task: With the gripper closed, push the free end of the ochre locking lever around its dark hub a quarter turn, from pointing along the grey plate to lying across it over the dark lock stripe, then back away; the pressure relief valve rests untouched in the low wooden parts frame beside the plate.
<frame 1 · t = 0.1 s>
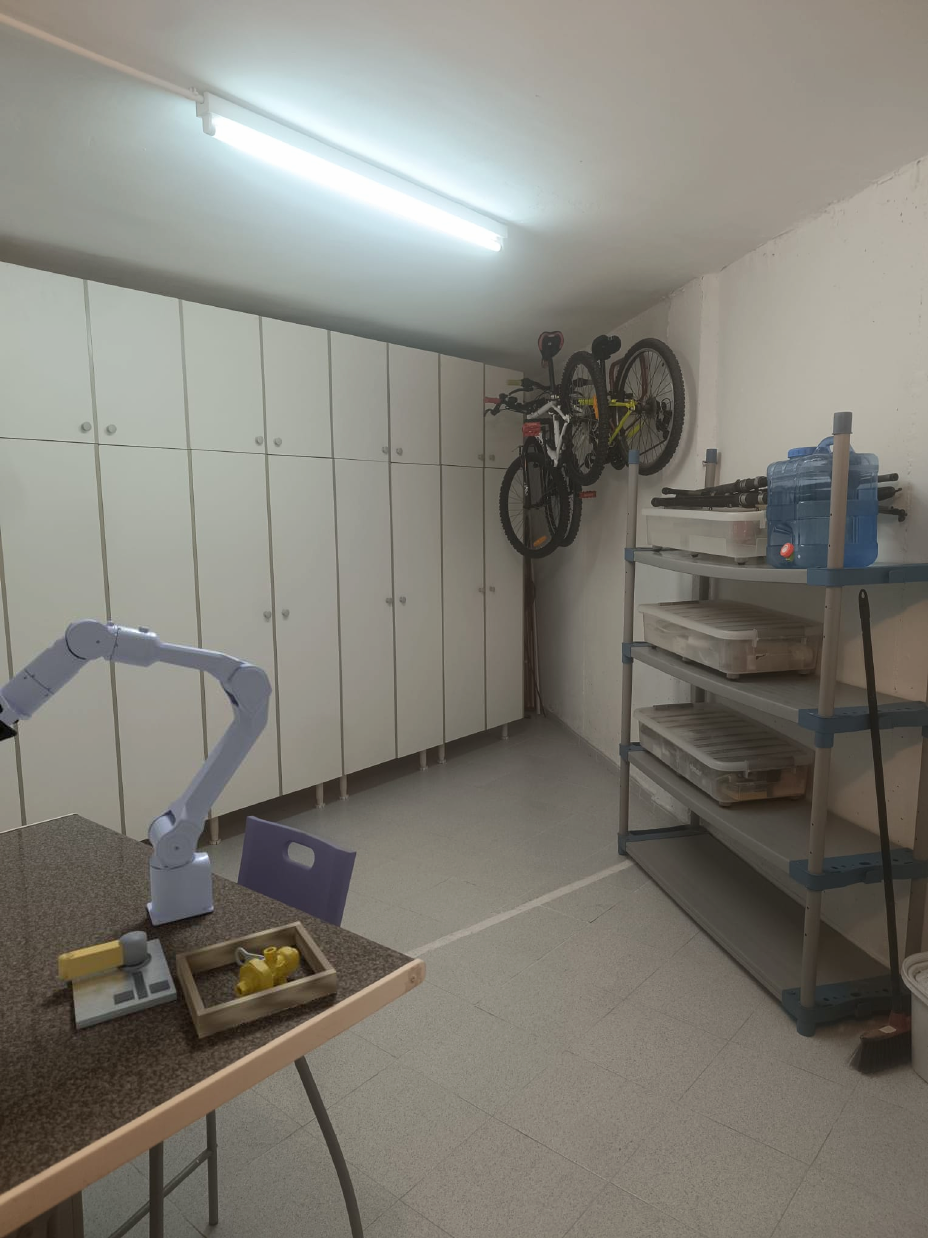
parts frame: (255, 983, 102), on the table
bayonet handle: (104, 955, 104), point 3 cm above the table, hinge at 0.0°
pressure relief valve: (252, 985, 103), on the table
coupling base: (121, 983, 103), on the table
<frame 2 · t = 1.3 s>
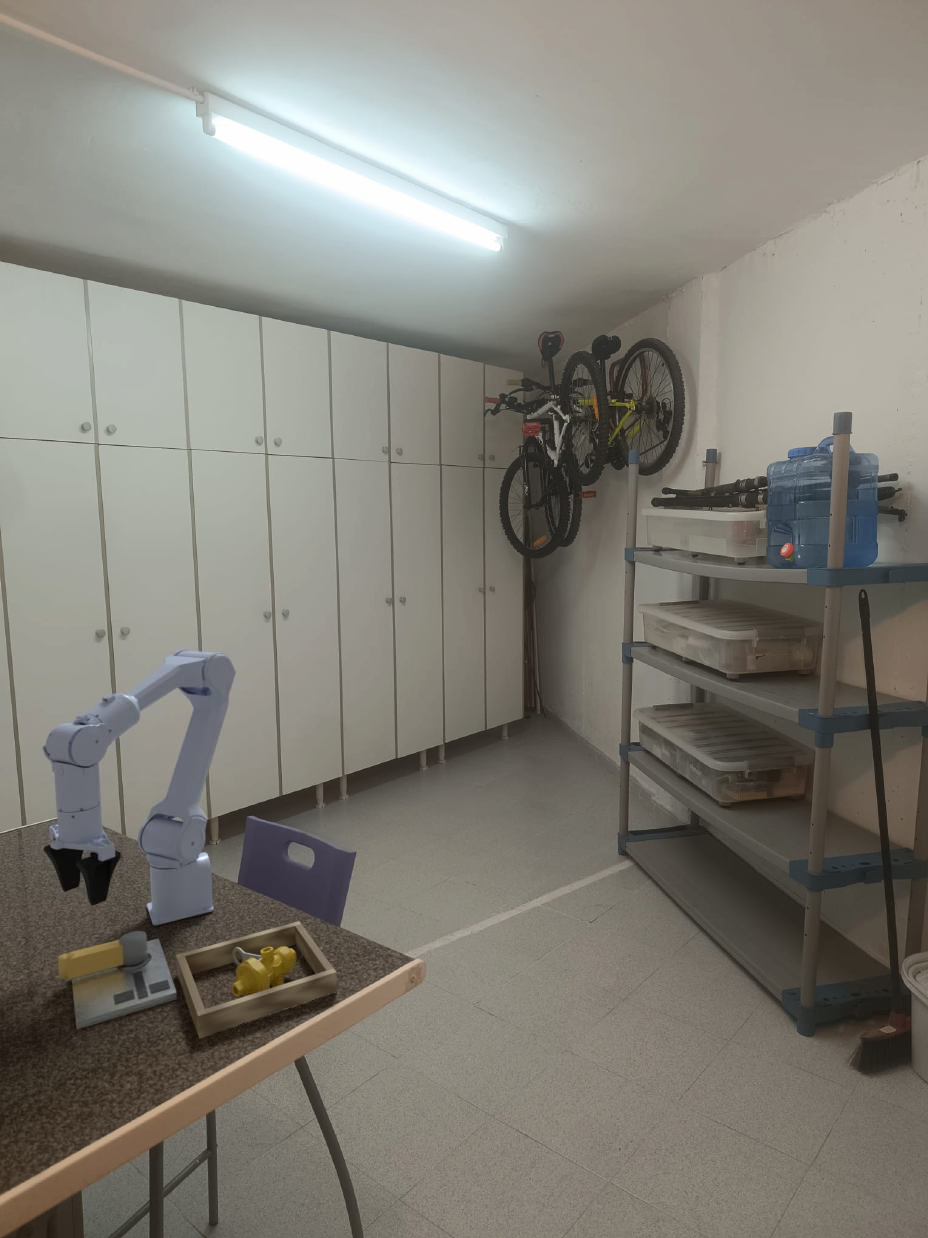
hand: (84, 895, 108), 10 cm above the table, tool pointing down, fingers open, 7 cm apart
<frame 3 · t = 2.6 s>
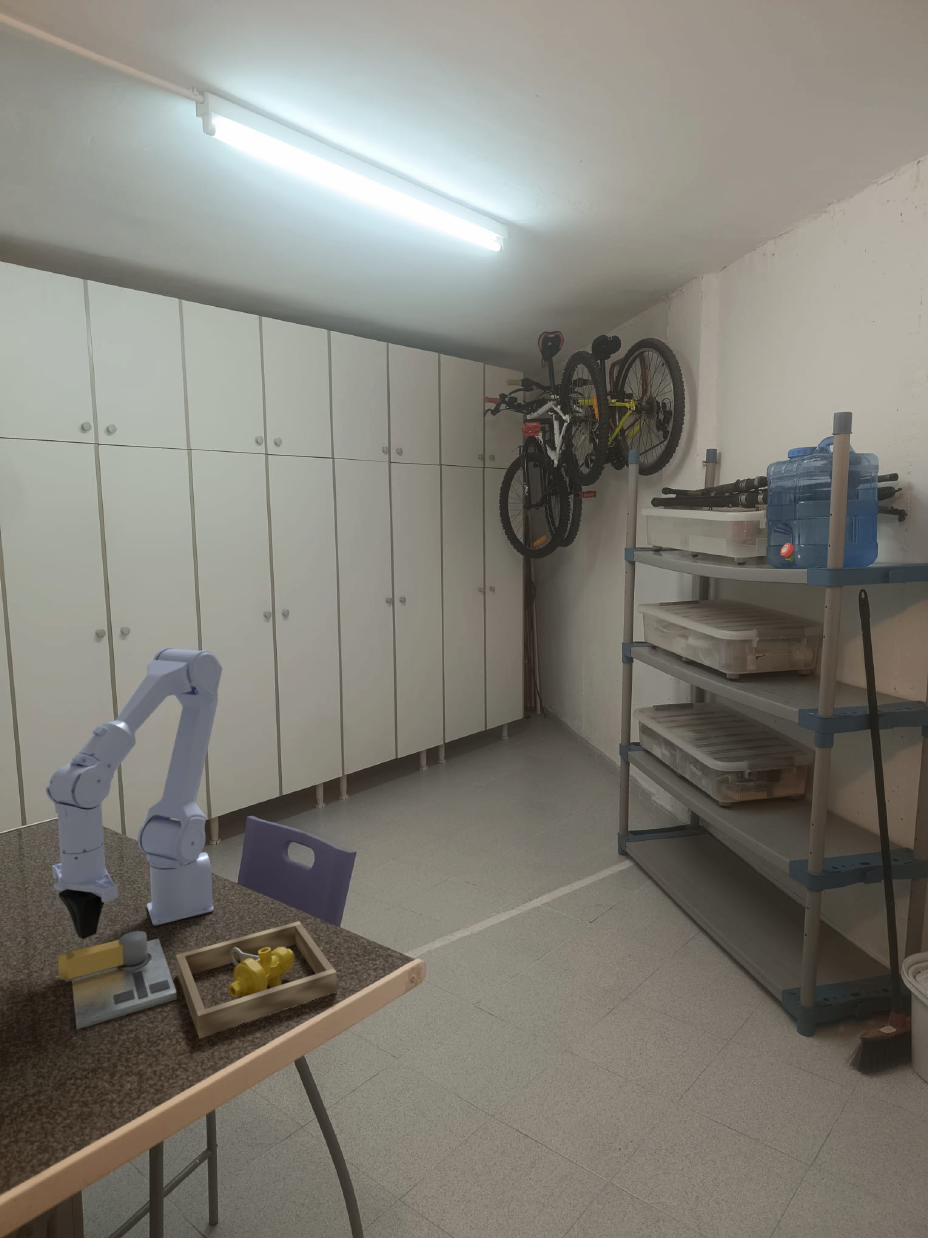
hand: (87, 935, 108), 4 cm above the table, tool pointing down, fingers closed
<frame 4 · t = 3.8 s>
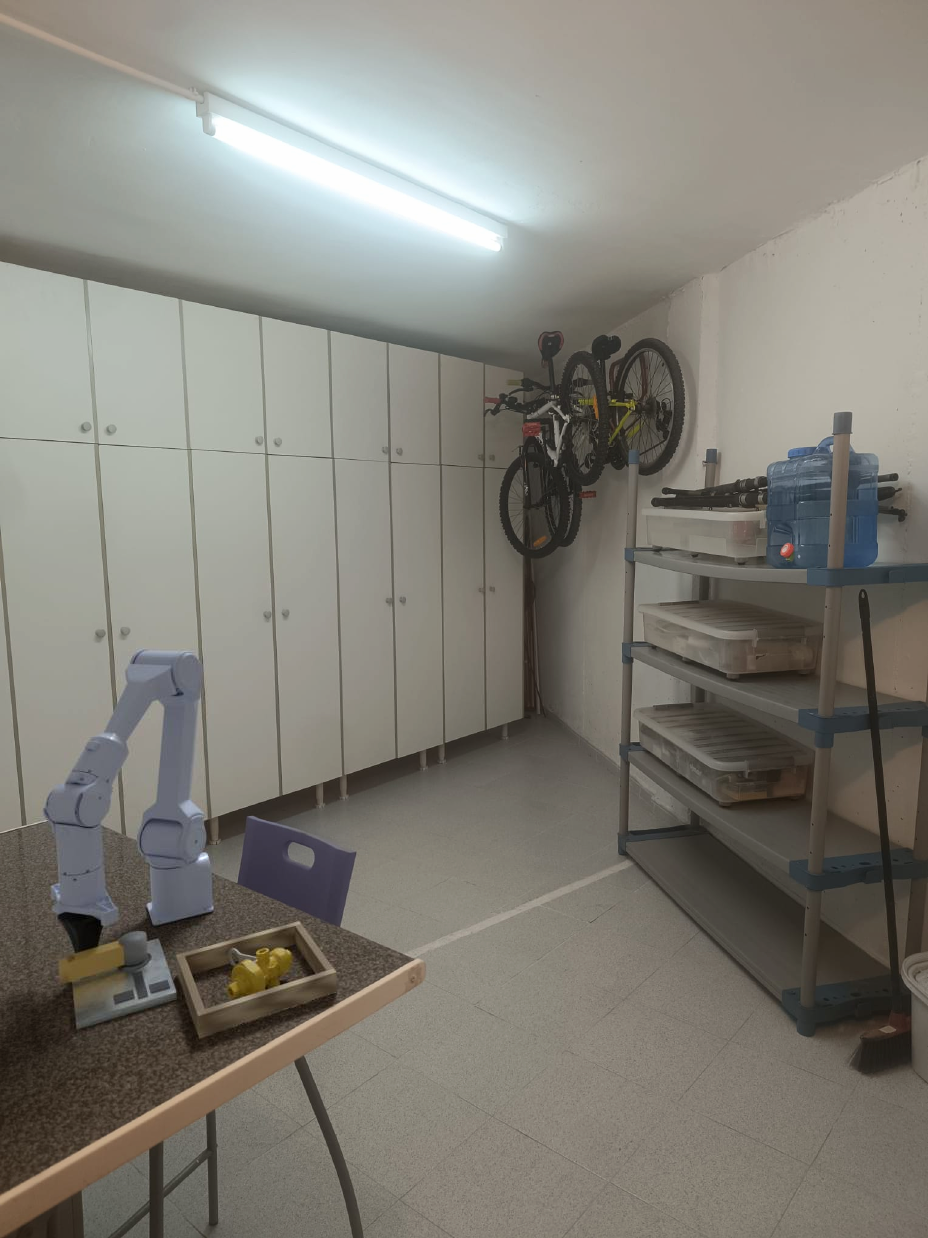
hand: (87, 958, 105), 2 cm above the table, tool pointing down, fingers closed
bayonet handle: (104, 957, 104), point 3 cm above the table, hinge at 5.9°, touching gripper
everything else where it was.
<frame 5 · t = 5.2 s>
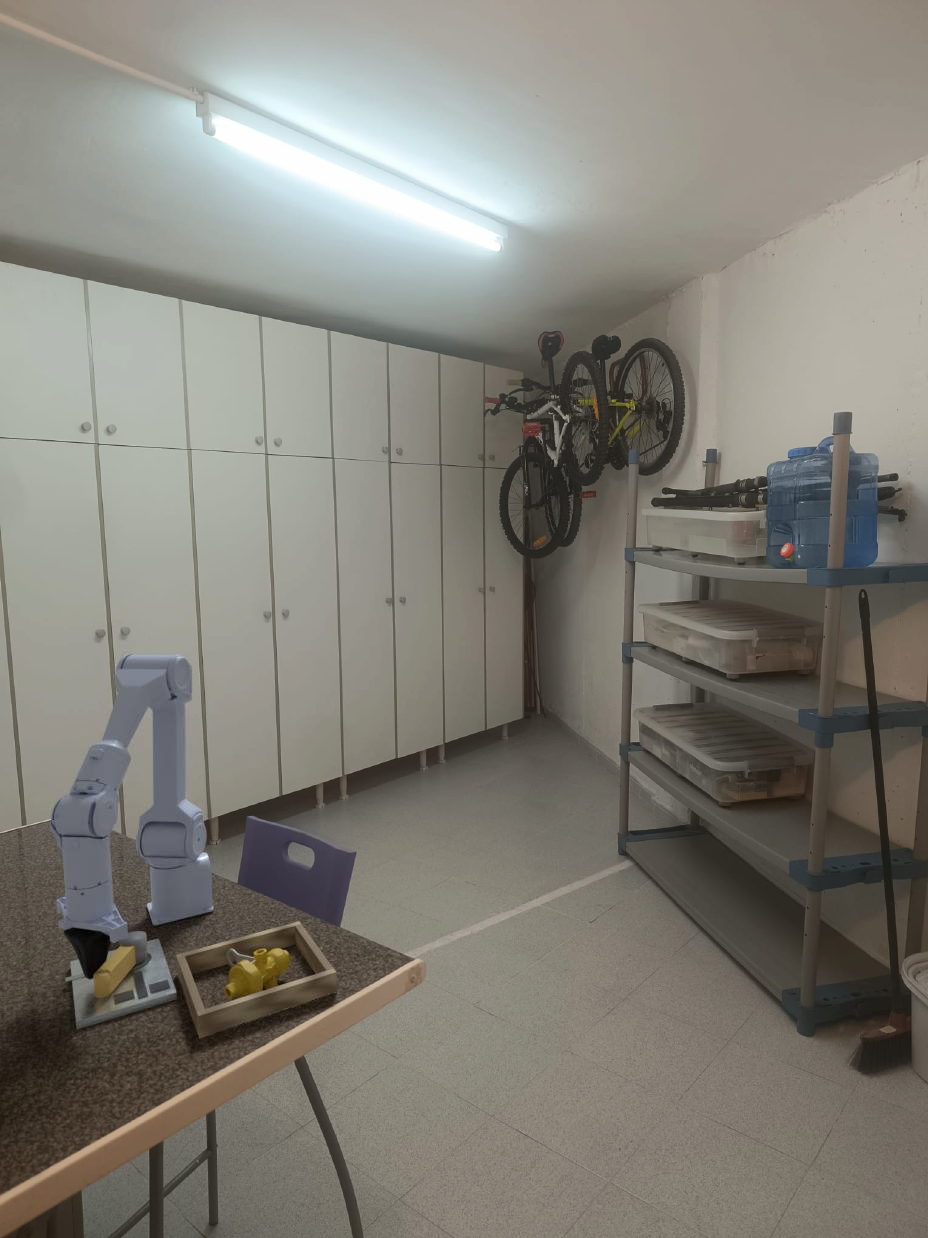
hand: (94, 975, 101), 2 cm above the table, tool pointing down, fingers closed
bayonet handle: (120, 963, 102), point 3 cm above the table, hinge at 57.3°, touching gripper
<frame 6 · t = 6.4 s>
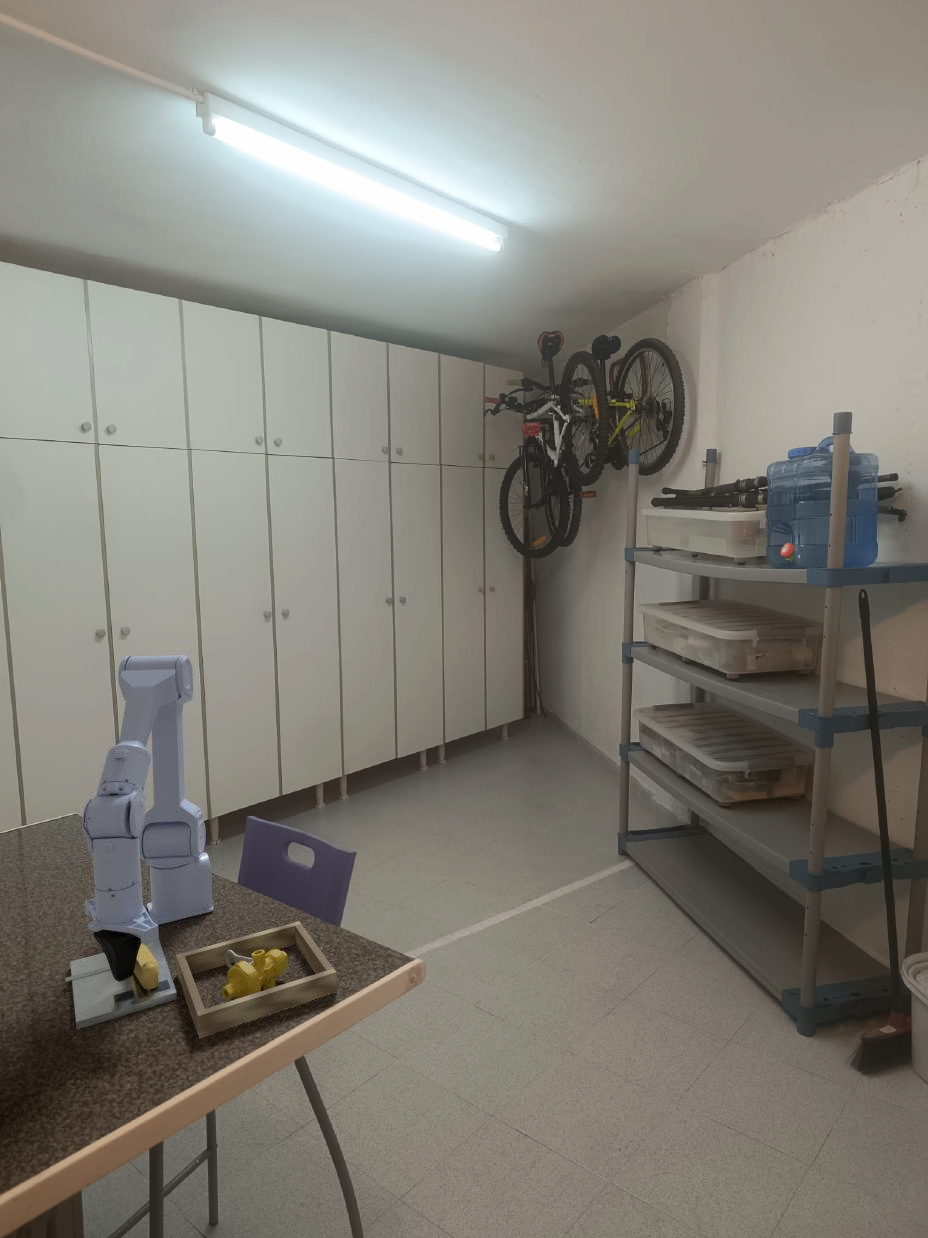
hand: (123, 977, 100), 2 cm above the table, tool pointing down, fingers closed
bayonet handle: (140, 959, 103), point 3 cm above the table, hinge at 98.0°, touching gripper
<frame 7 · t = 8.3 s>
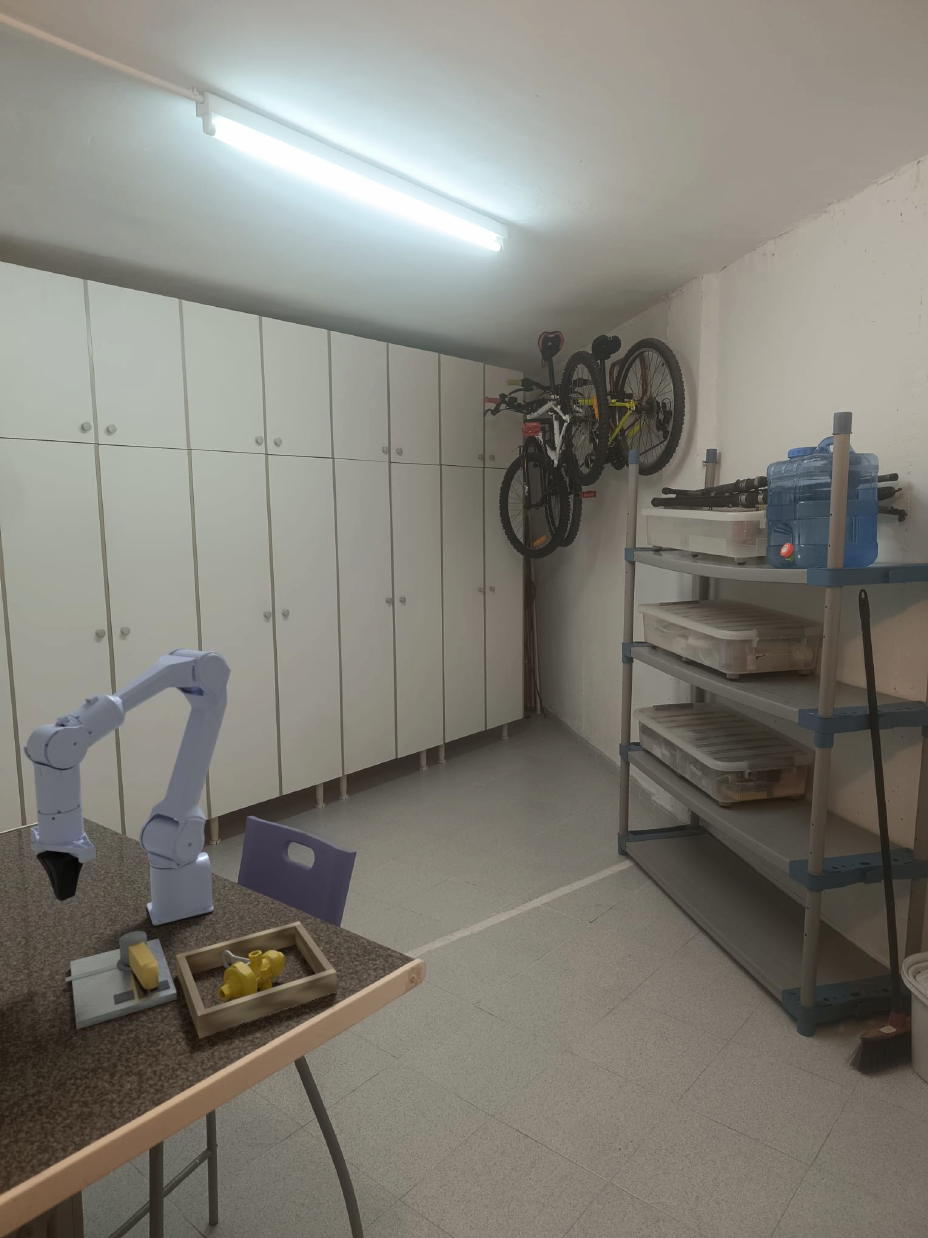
hand: (65, 897, 107), 10 cm above the table, tool pointing down, fingers closed
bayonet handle: (141, 959, 103), point 3 cm above the table, hinge at 98.1°
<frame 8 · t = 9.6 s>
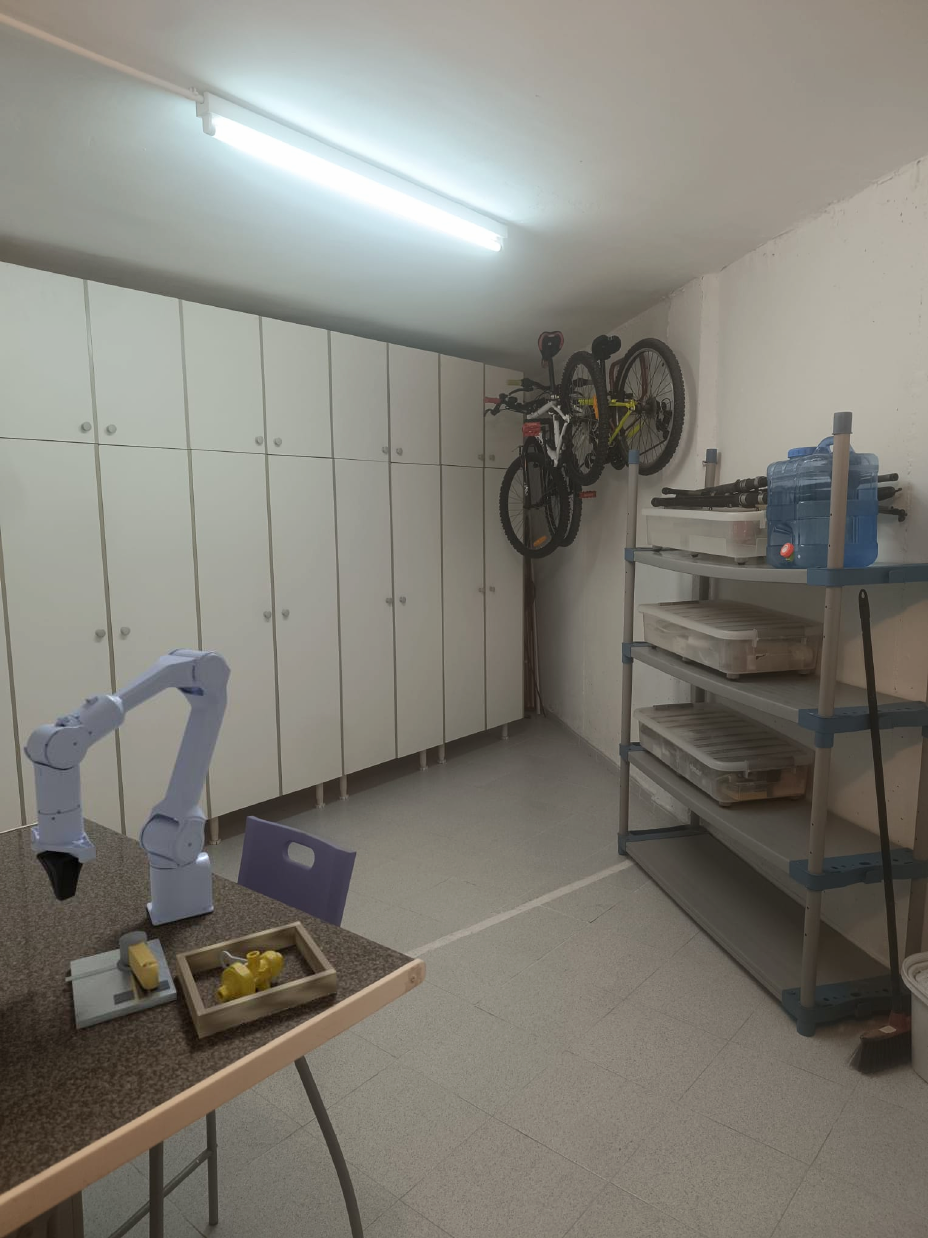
hand: (65, 897, 107), 10 cm above the table, tool pointing down, fingers closed
pressure relief valve: (235, 989, 102), on the table, touching parts frame
everything else where it was.
at the end: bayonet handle at +98° (first picture: +0°); the gripper is holding nothing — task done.
